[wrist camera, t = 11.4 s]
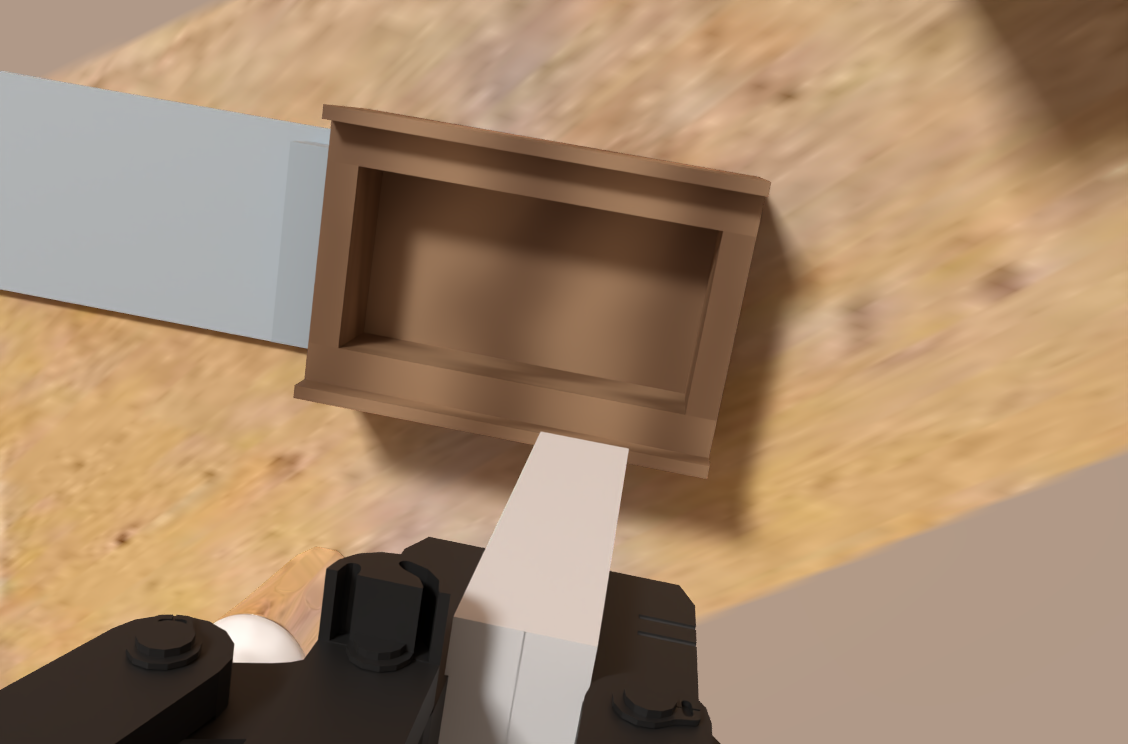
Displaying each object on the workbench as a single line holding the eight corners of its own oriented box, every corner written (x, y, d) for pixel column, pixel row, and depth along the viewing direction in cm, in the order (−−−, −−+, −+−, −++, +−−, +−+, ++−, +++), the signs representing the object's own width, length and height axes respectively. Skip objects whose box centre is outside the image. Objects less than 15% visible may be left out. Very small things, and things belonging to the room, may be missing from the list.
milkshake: (291, 644, 46) (187, 779, 36) (266, 537, 44) (152, 648, 35) (383, 635, 45) (303, 772, 35) (361, 527, 44) (271, 637, 34)
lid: (368, 134, 40) (342, 134, 37) (343, 349, 43) (317, 365, 39) (4, 71, 41) (-51, 65, 38) (-1, 282, 44) (-53, 293, 41)
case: (759, 177, 38) (771, 182, 34) (703, 439, 41) (707, 479, 36) (366, 108, 39) (323, 104, 35) (337, 368, 42) (293, 397, 37)
